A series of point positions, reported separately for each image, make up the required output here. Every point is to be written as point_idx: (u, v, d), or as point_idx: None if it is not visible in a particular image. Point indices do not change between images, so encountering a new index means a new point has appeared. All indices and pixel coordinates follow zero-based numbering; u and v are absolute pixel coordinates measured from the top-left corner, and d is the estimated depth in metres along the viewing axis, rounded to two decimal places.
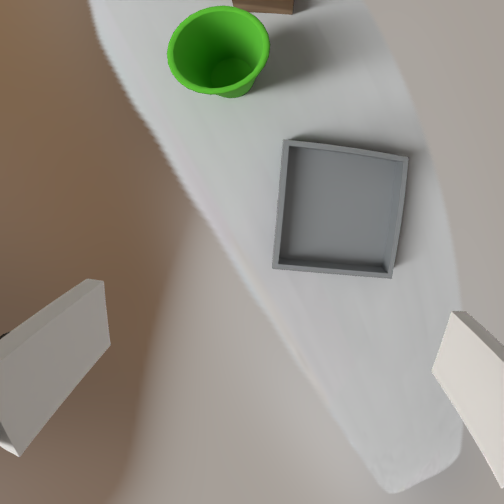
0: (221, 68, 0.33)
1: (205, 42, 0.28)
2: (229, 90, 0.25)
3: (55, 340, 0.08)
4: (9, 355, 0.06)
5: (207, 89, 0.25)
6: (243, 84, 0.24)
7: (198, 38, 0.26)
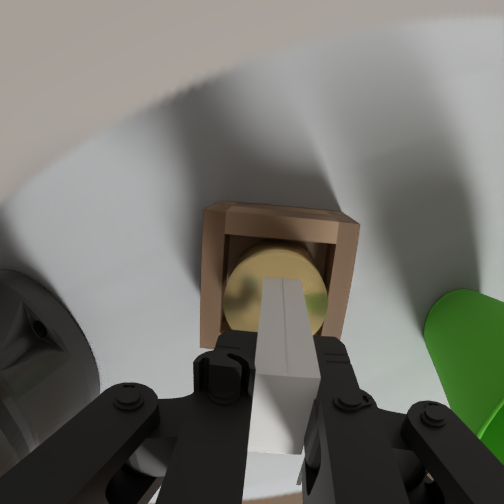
0: None
1: None
2: None
3: None
4: (287, 351, 0.08)
5: None
6: None
7: None
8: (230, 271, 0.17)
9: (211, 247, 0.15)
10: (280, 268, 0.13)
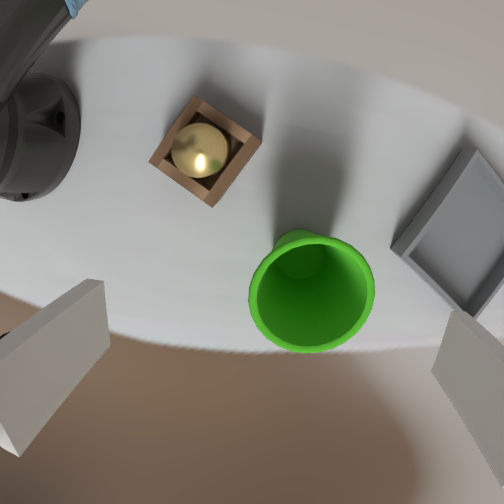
0: (283, 260, 0.32)
1: (266, 279, 0.27)
2: (368, 315, 0.22)
3: (55, 340, 0.08)
4: (9, 355, 0.06)
5: (350, 332, 0.23)
6: (373, 299, 0.22)
7: (264, 290, 0.26)
8: None
9: (186, 113, 0.25)
10: (210, 133, 0.24)
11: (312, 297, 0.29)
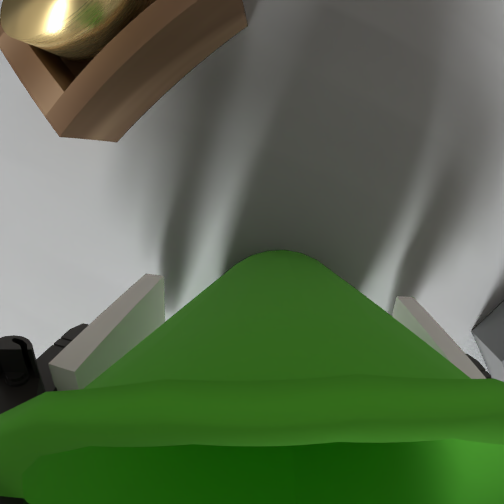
0: None
1: None
2: None
3: (130, 332, 0.09)
4: (97, 348, 0.07)
5: None
6: None
7: None
8: None
9: None
10: None
11: None
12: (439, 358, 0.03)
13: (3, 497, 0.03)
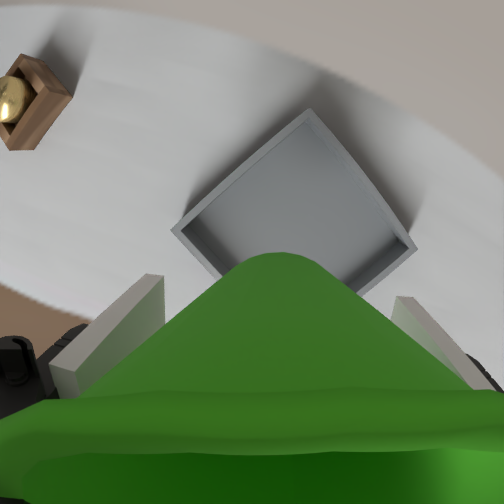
0: None
1: None
2: None
3: (130, 332, 0.09)
4: (97, 348, 0.07)
5: None
6: None
7: None
8: None
9: (12, 69, 0.21)
10: (10, 84, 0.19)
11: None
12: (437, 364, 0.03)
13: (3, 497, 0.03)
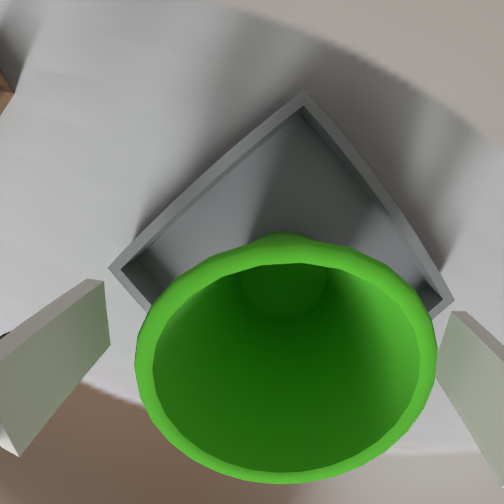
0: (254, 278, 0.18)
1: (206, 313, 0.13)
2: (396, 439, 0.09)
3: (55, 340, 0.08)
4: (9, 355, 0.06)
5: (349, 463, 0.09)
6: (418, 413, 0.08)
7: (192, 337, 0.12)
8: None
9: None
10: None
11: (289, 357, 0.16)
12: None
13: None
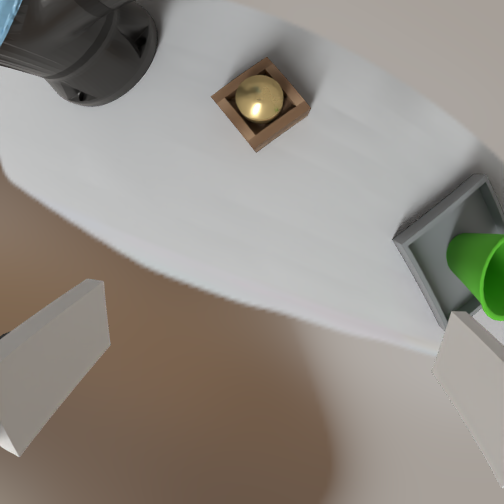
0: None
1: None
2: None
3: (55, 340, 0.08)
4: (9, 355, 0.06)
5: None
6: None
7: None
8: None
9: (256, 68, 0.29)
10: (273, 86, 0.27)
11: None
12: None
13: None
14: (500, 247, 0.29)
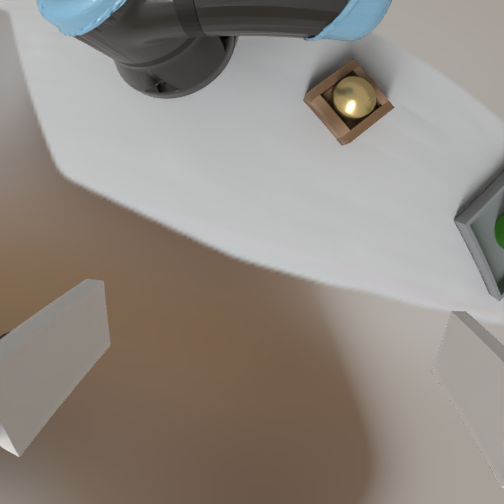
0: None
1: None
2: None
3: (55, 340, 0.08)
4: (9, 355, 0.06)
5: None
6: None
7: None
8: (335, 86, 0.33)
9: (345, 69, 0.30)
10: (367, 87, 0.29)
11: None
12: None
13: None
14: None
